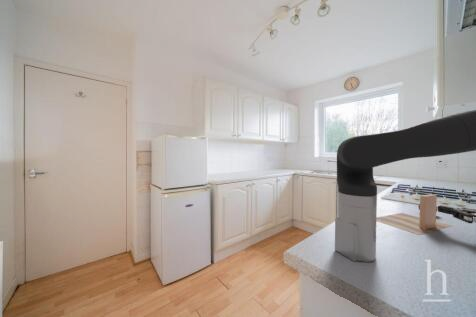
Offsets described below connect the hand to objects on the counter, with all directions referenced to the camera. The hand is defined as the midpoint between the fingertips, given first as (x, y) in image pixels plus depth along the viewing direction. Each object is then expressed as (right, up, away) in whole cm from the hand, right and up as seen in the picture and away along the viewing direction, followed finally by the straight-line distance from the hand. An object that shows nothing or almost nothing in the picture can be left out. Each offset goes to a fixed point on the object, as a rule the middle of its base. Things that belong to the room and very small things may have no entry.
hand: (438, 208), depth 64 cm
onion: (+15, -9, +18) cm, 25 cm away
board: (-3, -9, +8) cm, 12 cm away
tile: (-1, -8, +3) cm, 8 cm away
